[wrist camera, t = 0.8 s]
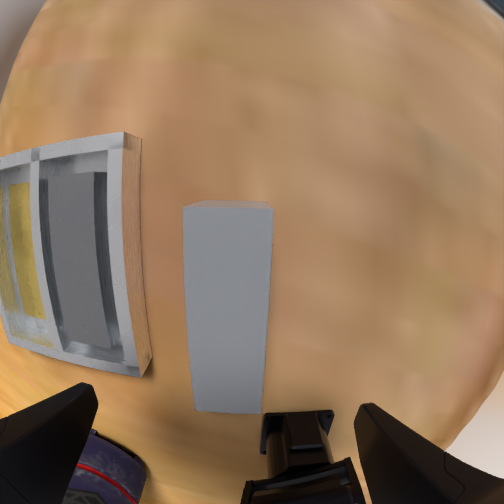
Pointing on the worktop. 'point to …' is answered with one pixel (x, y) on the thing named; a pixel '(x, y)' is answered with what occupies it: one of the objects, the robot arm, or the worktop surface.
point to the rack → (75, 253)
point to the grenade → (105, 475)
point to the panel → (227, 301)
